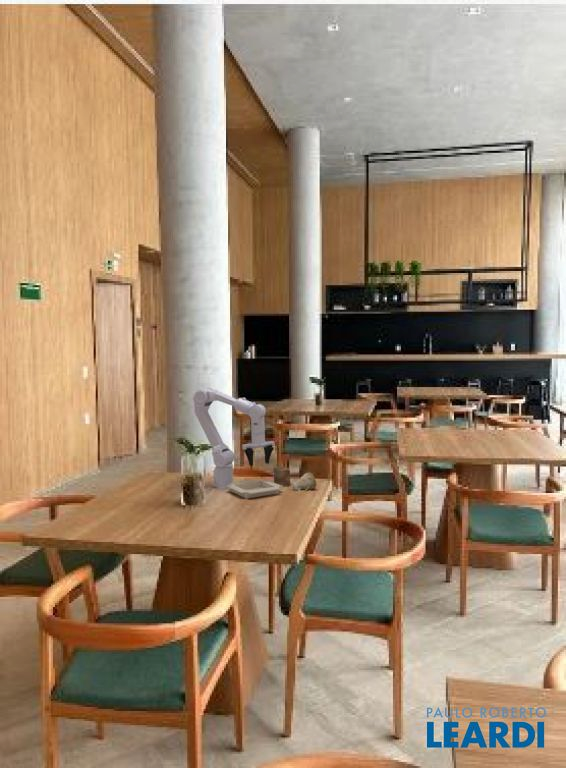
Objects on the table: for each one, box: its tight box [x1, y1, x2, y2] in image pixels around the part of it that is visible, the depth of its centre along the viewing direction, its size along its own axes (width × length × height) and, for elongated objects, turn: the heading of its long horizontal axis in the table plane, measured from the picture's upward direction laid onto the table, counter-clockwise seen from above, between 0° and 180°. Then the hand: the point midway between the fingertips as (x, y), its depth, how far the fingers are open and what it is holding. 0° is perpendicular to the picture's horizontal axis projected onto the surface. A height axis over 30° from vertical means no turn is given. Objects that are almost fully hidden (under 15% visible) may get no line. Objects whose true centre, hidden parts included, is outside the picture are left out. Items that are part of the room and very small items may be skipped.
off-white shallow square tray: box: [226, 478, 284, 500], centre depth 251 cm, size 21×19×3 cm
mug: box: [292, 471, 317, 493], centre depth 254 cm, size 8×10×10 cm
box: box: [273, 466, 291, 488], centre depth 263 cm, size 4×8×7 cm, turn 26°
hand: (259, 464), depth 258 cm, fingers open, 7 cm apart
